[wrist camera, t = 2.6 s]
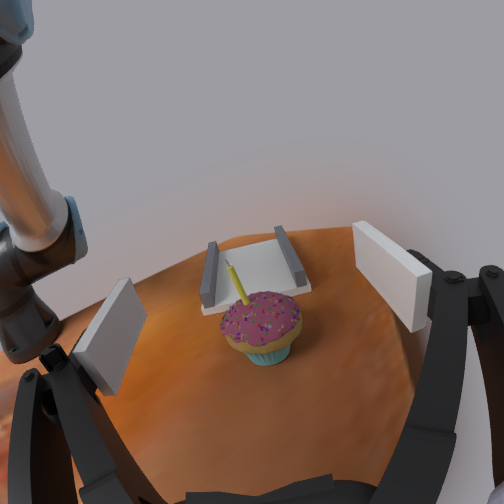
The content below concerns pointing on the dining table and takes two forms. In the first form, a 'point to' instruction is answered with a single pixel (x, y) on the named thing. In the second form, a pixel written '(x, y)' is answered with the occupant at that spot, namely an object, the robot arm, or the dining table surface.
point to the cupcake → (261, 324)
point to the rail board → (251, 272)
